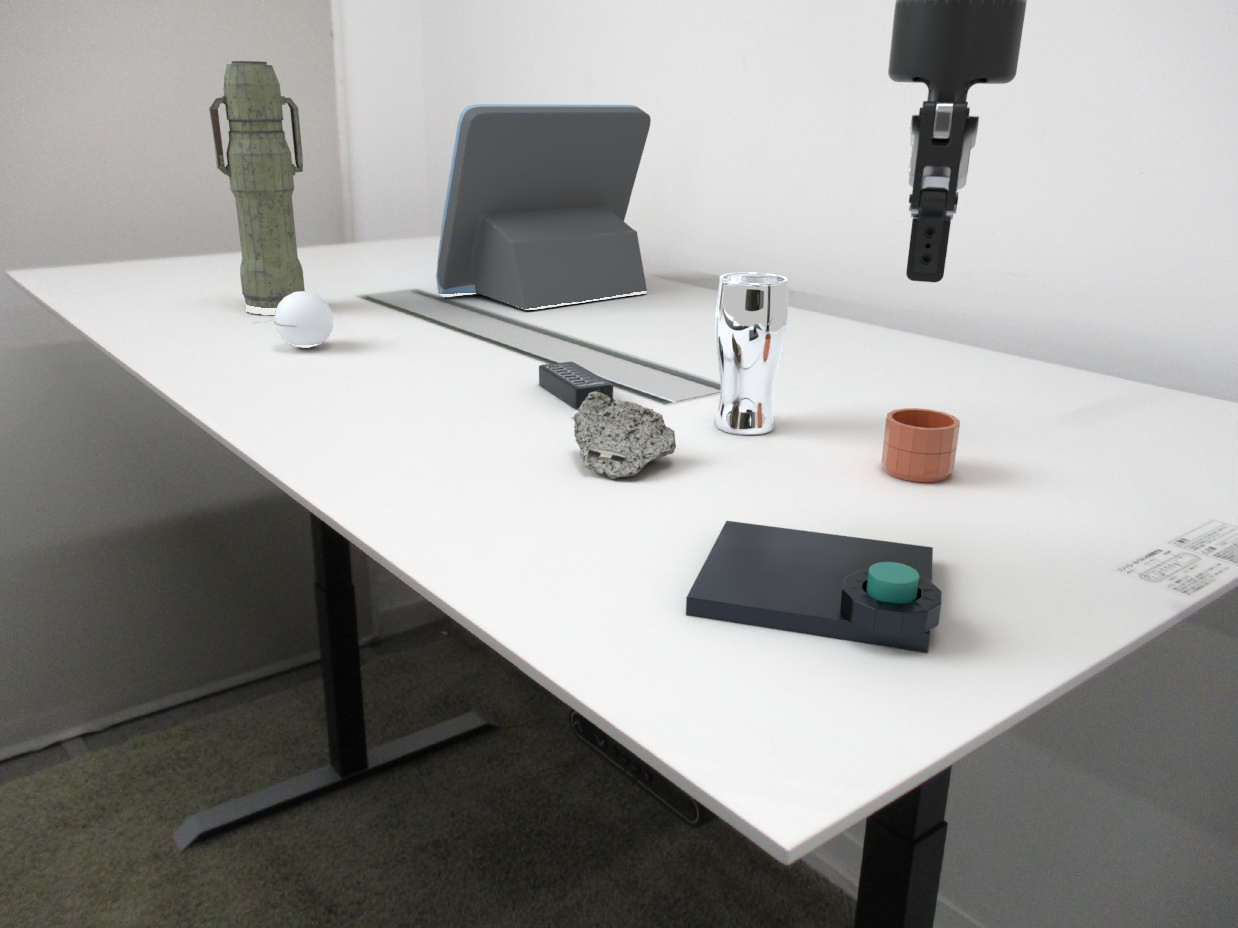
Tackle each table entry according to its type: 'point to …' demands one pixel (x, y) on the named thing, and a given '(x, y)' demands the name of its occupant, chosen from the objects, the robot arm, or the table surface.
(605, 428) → the rock sample
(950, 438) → the terracotta cup
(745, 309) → the beer glass
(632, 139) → the touchscreen device
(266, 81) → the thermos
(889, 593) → the tare button
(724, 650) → the table surface
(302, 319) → the white ball
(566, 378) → the multiport hub
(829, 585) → the scale
